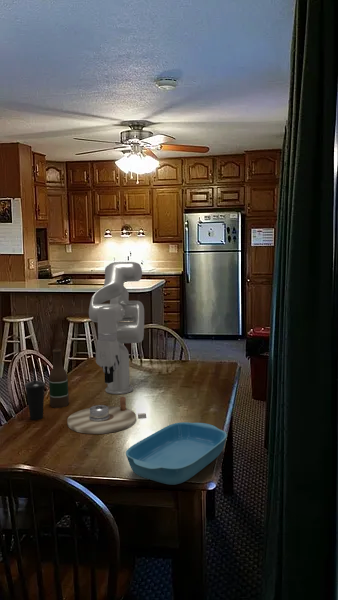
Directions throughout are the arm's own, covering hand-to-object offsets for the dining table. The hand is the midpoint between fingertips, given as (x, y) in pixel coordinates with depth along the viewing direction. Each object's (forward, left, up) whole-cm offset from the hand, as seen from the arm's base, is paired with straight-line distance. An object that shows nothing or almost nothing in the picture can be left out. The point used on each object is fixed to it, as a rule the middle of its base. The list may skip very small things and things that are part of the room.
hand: (109, 382), depth 209 cm
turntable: (+7, -10, -12) cm, 17 cm away
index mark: (+15, +3, -12) cm, 20 cm away
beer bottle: (-22, -9, -12) cm, 27 cm away
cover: (+7, -11, -10) cm, 16 cm away
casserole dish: (+53, -18, -13) cm, 58 cm away
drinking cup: (-16, -24, -12) cm, 31 cm away
